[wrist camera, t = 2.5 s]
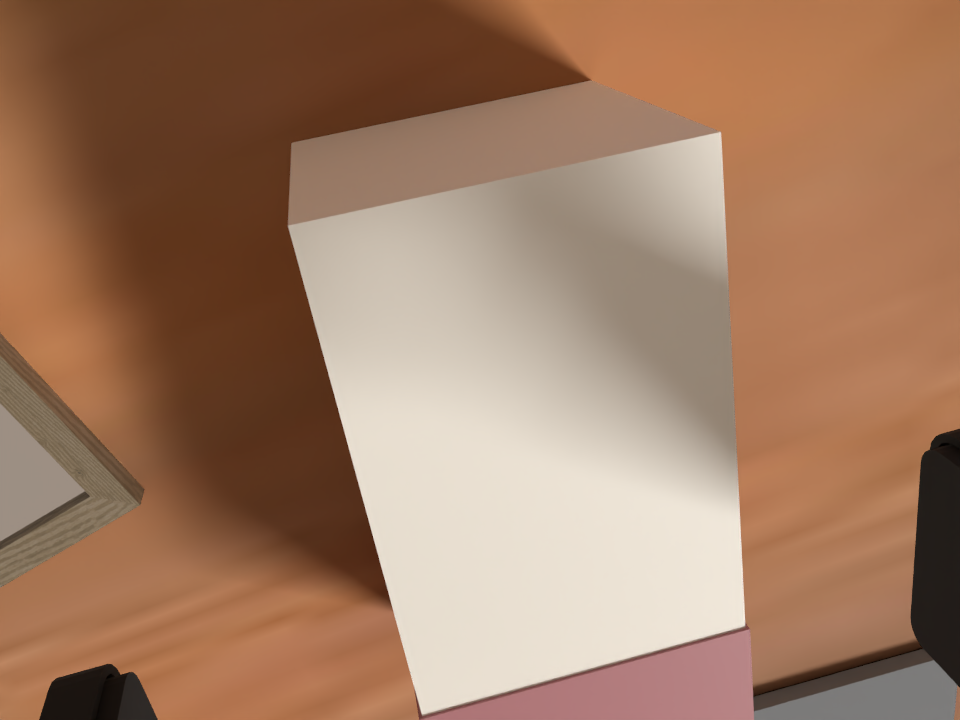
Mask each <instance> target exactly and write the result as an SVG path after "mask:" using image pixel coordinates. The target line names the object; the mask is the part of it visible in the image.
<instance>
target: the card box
mask: <svg viewBox="0 0 960 720" xmlns="http://www.w3.org/2000/svg"><path fill="white" fill-rule="evenodd" d="M288 228H289V232H290V235H291V239H292V243H293V246H294V250H295V254H296V257H297V261H298V265H299V268H300V272H301V276H302V279H303V283H304V287H305V290H306V294H307V297H308V301H309V305H310V308H311V312H312V316H313V319H314V323H315V327H316V330H317V334H318V338H319V341H320V345H321V349H322V352H323V356H324V360H325V363H326V367H327V370H328V374H329V378H330V381H331V385H332V389H333V392H334V396H335V400H336V403H337V407H338V411H339V414H340V418H341V422H342V425H343V429H344V432H345V436H346V440H347V443H348V447H349V451H350V454H351V458H352V462H353V465H354V469H355V473H356V476H357V480H358V484H359V487H360V491H361V495H362V498H363V502H364V505H365V509H366V513H367V516H368V520H369V524H370V527H371V531H372V535H373V538H374V542H375V546H376V549H377V553H378V557H379V560H380V564H381V567H382V571H383V575H384V578H385V582H386V586H387V589H388V593H389V597H390V600H391V604H392V608H393V611H394V615H395V619H396V622H397V626H398V630H399V633H400V637H401V640H402V644H403V648H404V651H405V655H406V659H407V662H408V666H409V670H410V673H411V677H412V681H413V684H414V689H415V695H416V702H417V708H418V714H419V720H754V706H753V684H752V663H751V641H750V629H749V627H748V626H747V624H746V623H745V611H744V591H743V570H742V550H741V530H740V509H739V489H738V469H737V448H736V428H735V408H734V387H733V367H732V347H731V326H730V306H729V285H728V265H727V245H726V224H725V204H724V184H723V163H722V143H721V132H720V131H717V130H715V129H712V128H710V127H707V126H705V125H702V124H700V123H697V122H695V121H692V120H690V119H687V118H685V117H682V116H680V115H677V114H675V113H672V112H670V111H667V110H665V109H662V108H660V107H657V106H655V105H652V104H650V103H647V102H645V101H642V100H639V99H637V98H634V97H632V96H629V95H627V94H624V93H622V92H619V91H617V90H614V89H612V88H609V87H607V86H604V85H602V84H599V83H597V82H594V81H592V80H591V81H586V82H581V83H576V84H571V85H567V86H562V87H557V88H552V89H547V90H543V91H538V92H533V93H528V94H523V95H519V96H514V97H509V98H504V99H499V100H495V101H490V102H485V103H480V104H475V105H470V106H466V107H461V108H456V109H451V110H446V111H442V112H437V113H432V114H427V115H422V116H418V117H413V118H408V119H403V120H398V121H394V122H389V123H384V124H379V125H374V126H370V127H365V128H360V129H355V130H350V131H345V132H341V133H336V134H331V135H326V136H321V137H317V138H312V139H307V140H302V141H297V142H293V143H291V166H290V188H289V211H288Z"/></svg>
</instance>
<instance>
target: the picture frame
mask: <svg viewBox="0 0 960 720" xmlns="http://www.w3.org/2000/svg"><path fill="white" fill-rule="evenodd" d="M143 493H144V488H143V487H142V486H141V485H140V484H139V483H138V482H137V481H136V480H135V479H134V478H133V477H132V475H131V474H130V473H129V472H128V471H127V470H126V469H125V468H124V467H123V466H122V465H121V464H120V462H119V461H118V460H117V459H116V458H115V457H114V456H113V455H112V454H111V453H110V452H109V450H108V449H107V448H106V447H105V446H104V445H103V444H102V443H101V442H100V441H99V440H98V439H97V437H96V436H95V435H94V434H93V433H92V432H91V431H90V430H89V429H88V428H87V427H86V425H85V424H84V423H83V422H82V421H81V420H80V419H79V418H78V417H77V416H76V415H75V414H74V412H73V411H72V410H71V409H70V408H69V407H68V406H67V405H66V404H65V403H64V402H63V401H62V399H61V398H60V397H59V396H58V395H57V394H56V393H55V392H54V391H53V390H52V389H51V387H50V386H49V385H48V384H47V383H46V382H45V381H44V380H43V379H42V378H41V377H40V376H39V374H38V373H37V372H36V371H35V370H34V369H33V368H32V367H31V366H30V365H29V364H28V363H27V361H26V360H25V359H24V358H23V357H22V356H21V355H20V354H19V353H18V352H17V351H16V349H15V348H14V347H13V346H12V345H11V344H10V343H9V342H8V341H7V340H6V339H5V338H4V336H3V335H2V334H1V333H0V587H2V586H4V585H5V584H7V583H9V582H11V581H12V580H14V579H16V578H17V577H19V576H21V575H22V574H24V573H26V572H27V571H29V570H31V569H33V568H34V567H36V566H38V565H39V564H41V563H43V562H44V561H46V560H48V559H50V558H51V557H53V556H55V555H56V554H58V553H60V552H61V551H63V550H65V549H66V548H68V547H70V546H72V545H73V544H75V543H77V542H78V541H80V540H82V539H83V538H85V537H87V536H88V535H90V534H92V533H94V532H95V531H97V530H99V529H100V528H102V527H104V526H105V525H107V524H109V523H111V522H112V521H114V520H116V519H117V518H119V517H121V516H122V515H124V514H126V513H127V512H129V511H131V510H133V509H134V508H136V507H138V506H139V505H140V504H141V500H142V497H143Z"/></svg>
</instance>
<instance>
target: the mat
mask: <svg viewBox="0 0 960 720" xmlns="http://www.w3.org/2000/svg"><path fill="white" fill-rule="evenodd" d="M956 693H957V684H956V683H955V682H954V681H953V680H952V679H951V678H950V677H949V676H948V675H947V673H946V672H945V671H944V670H943V669H942V668H941V667H940V666H939V665H938V664H937V663H936V662H935V661H934V660H933V659H932V658H931V657H930V655H929V654H928V653H927V652H926V651H925V650H924V649H920V650H917V651H913V652H910V653H906V654H903V655H899V656H896V657H892V658H889V659H885V660H881V661H878V662H874V663H871V664H867V665H864V666H860V667H857V668H853V669H850V670H846V671H843V672H839V673H836V674H832V675H829V676H825V677H822V678H818V679H815V680H811V681H808V682H804V683H801V684H797V685H793V686H790V687H786V688H783V689H779V690H776V691H772V692H769V693H765V694H762V695H758V696H755V697H753V706H754V720H954V713H955V703H956Z"/></svg>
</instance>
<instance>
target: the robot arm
mask: <svg viewBox="0 0 960 720" xmlns="http://www.w3.org/2000/svg"><path fill="white" fill-rule="evenodd" d="M911 625H912V628H913V631H914V634H915V636H916V638H917V640H918V642H919V643H920V645H921V646H922V648H923V649H924V650H925V651H926V652H927V653H928V654H929V655H930V657H931V658H932V659H933V660H934V661H935V662H936V663H937V664H938V665H939V666H940V667H941V668H942V669H943V670H944V671H945V672H946V673H947V675H948V676H949V677H950V678H951V679H952V680H953V681H954V682H955V683H956V684H957V685H958V686H959V687H960V429H957V430H954V431H950V432H946V433H943V434H940V435H938V436H936V437H935V438H934V440H933V441H932V442H931V447H930V450H928V451H926V452H925V453H924V454H923V456H922V460H921V470H920V485H919V500H918V515H917V530H916V545H915V559H914V574H913V589H912V604H911ZM39 720H158V719H157V717H156V715H155V713H154V711H153V708H152V706H151V704H150V702H149V700H148V698H147V696H146V693H145V691H144V689H143V687H142V685H141V683H140V681H139V679H138V677H137V675H136V674H134V673H133V672H129V673H125V674H122V675H120V673H119V672H118V670H117V668H116V667H114V666H113V665H112V664H106V665H103V666H99V667H95V668H92V669H88V670H84V671H81V672H77V673H74V674H70V675H66V676H63V677H59V678H56V679H55V680H54V681H53V682H52V683H51V686H50V688H49V690H48V693H47V696H46V700H45V703H44V706H43V709H42V713H41V716H40V719H39Z"/></svg>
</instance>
